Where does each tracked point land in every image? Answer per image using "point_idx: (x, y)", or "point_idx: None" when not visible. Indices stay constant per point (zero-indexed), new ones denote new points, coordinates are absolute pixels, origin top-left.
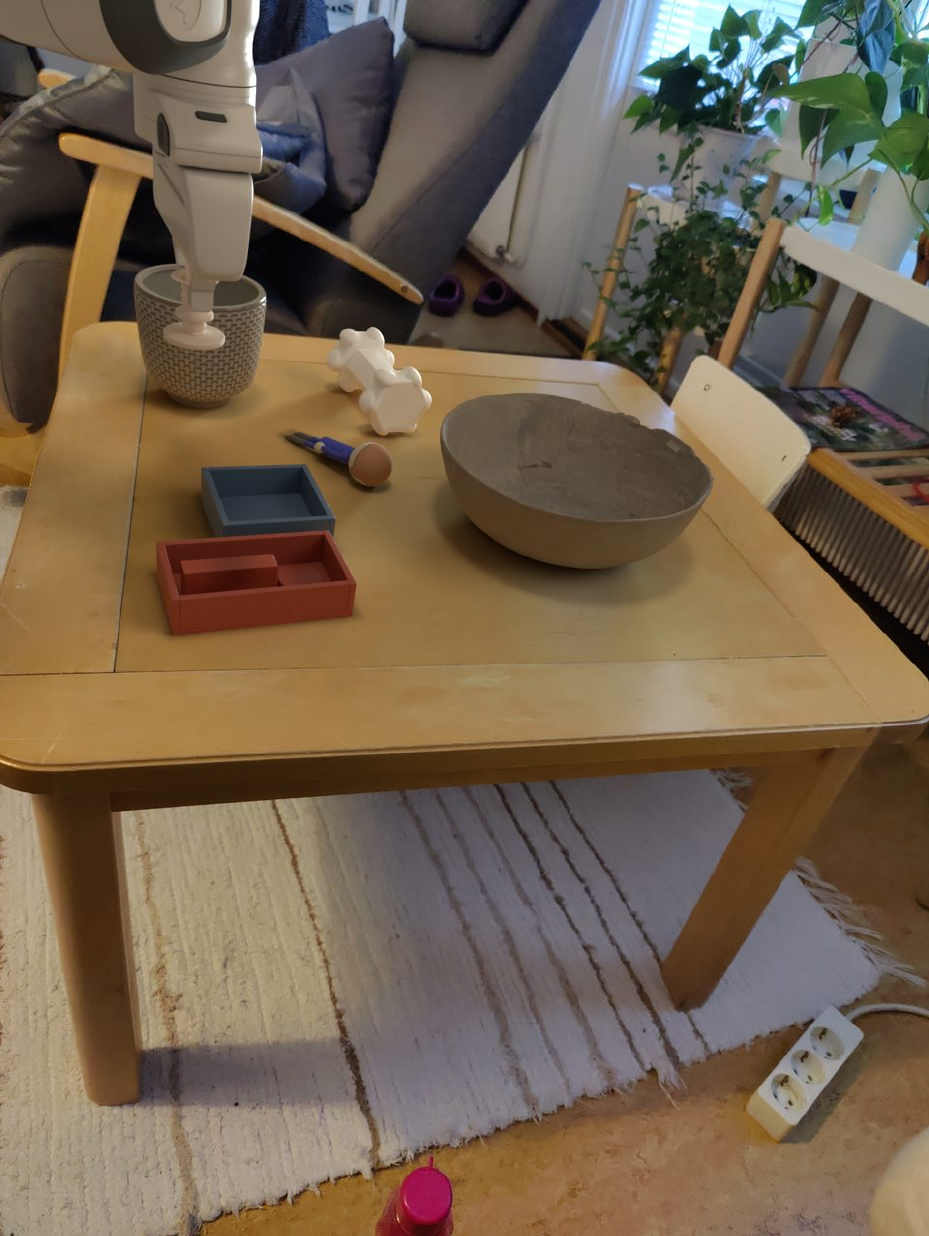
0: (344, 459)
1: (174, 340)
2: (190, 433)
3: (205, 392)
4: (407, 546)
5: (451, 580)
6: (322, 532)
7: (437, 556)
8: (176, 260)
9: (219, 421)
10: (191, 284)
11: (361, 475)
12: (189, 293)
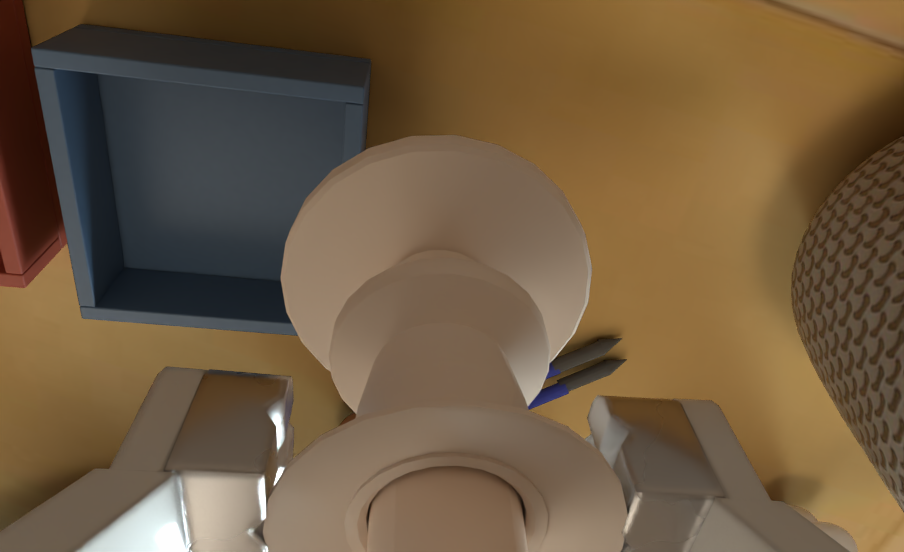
0: None
1: (344, 173)
2: (718, 135)
3: (811, 229)
4: (134, 402)
5: (13, 427)
6: (13, 272)
7: (97, 434)
8: (769, 518)
9: (751, 223)
10: (29, 514)
11: (345, 422)
12: (194, 432)
